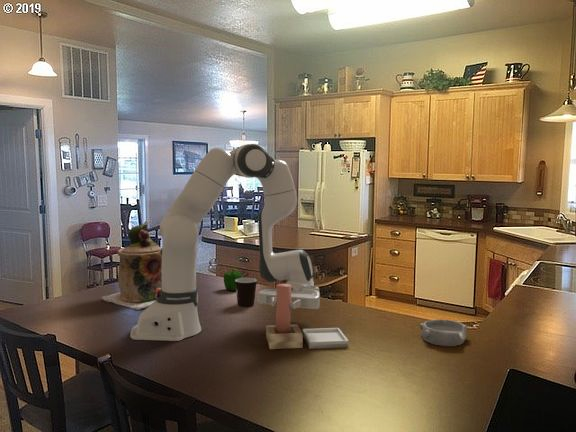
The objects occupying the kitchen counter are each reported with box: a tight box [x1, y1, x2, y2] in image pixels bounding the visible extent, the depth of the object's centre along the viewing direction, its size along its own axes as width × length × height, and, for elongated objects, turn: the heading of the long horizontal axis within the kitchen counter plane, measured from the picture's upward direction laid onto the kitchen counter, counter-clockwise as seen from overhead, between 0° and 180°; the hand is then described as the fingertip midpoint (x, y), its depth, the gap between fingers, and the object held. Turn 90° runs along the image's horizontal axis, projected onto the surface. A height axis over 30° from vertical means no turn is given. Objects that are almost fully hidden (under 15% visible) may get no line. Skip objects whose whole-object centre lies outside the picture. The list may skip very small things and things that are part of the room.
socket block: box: [265, 323, 304, 350], centre depth 147 cm, size 10×10×4 cm
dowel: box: [275, 283, 292, 334], centre depth 146 cm, size 4×4×15 cm
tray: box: [302, 327, 349, 350], centre depth 149 cm, size 12×12×2 cm
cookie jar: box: [101, 221, 162, 311], centre depth 193 cm, size 25×25×32 cm
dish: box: [419, 318, 468, 347], centre depth 151 cm, size 14×14×5 cm
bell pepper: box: [223, 268, 243, 292], centre depth 211 cm, size 8×8×10 cm
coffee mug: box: [235, 277, 258, 308], centre depth 189 cm, size 12×9×10 cm
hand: (282, 305), depth 145 cm, fingers closed on dowel, 4 cm apart
